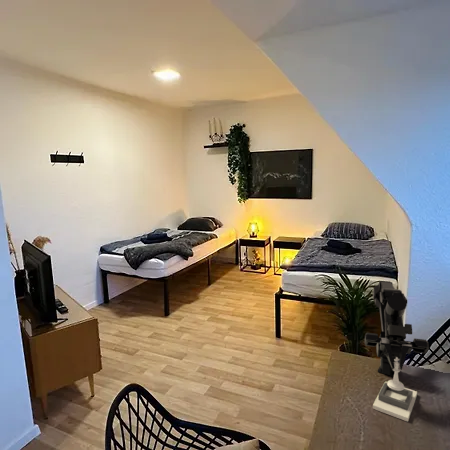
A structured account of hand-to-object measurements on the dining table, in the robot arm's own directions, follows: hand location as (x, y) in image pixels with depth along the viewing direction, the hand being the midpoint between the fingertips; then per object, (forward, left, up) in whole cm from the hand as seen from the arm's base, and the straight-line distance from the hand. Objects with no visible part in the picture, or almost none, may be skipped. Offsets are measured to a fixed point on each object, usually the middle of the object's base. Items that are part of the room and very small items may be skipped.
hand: (397, 369), depth 105 cm
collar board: (-1, 0, -12) cm, 12 cm away
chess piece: (-1, 0, -7) cm, 7 cm away
